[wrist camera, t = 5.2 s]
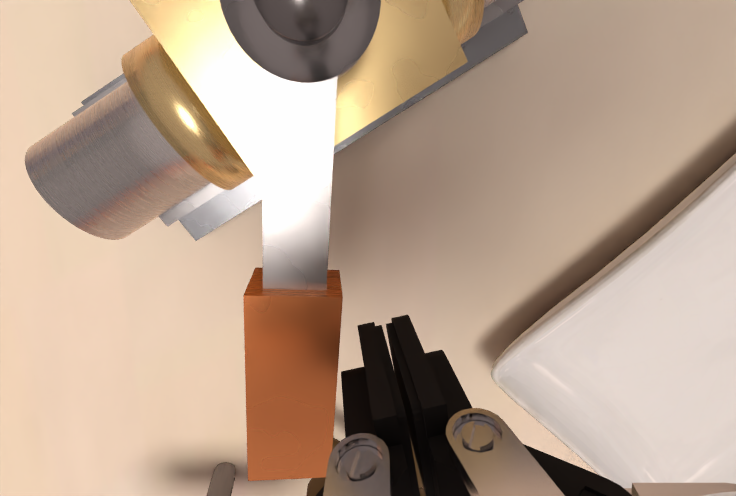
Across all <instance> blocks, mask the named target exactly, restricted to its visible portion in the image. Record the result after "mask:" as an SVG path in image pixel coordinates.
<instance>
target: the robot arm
mask: <svg viewBox="0 0 736 496" xmlns="http://www.w3.org/2000/svg"><path fill="white" fill-rule="evenodd" d="M386 327H387V333H388V338H389V344H390V350H391V355H392V361H393V365H392V361H391V358H390V354H389V351H388V347H387V343H386V340H385V336H384V332H383V329H382V325H379V326H375V324H374V322H372V323H367V324H362V325H358V331H359V337H360V343H361V350H362V356H363V362H364V367H361V368H356V369H351V370H347V371H342V372H341V378H342V392H343V407H344V421H345V435H346V438H345V439H343V440H342V441H341V442H339V443H338V444H337V445H336V446H335V448H334V449H333V451H332V452H331V454H330V457H329V460H328V466H327V472H326V479H325V485H324V486H323V487H322V489H321V490H320V491H319V492H318V493H317V494H316V496H420V491H419V485H418V480H417V474H416V468H415V462H414V457H413V451H412V447H413V450H414V454H415V458H416V461H417V465H418V469H419V473H420V476H421V480H422V484H423V487H424V491H425V495H426V496H736V484H732V483H632V488H623V487H622V486H620V485H619V484H617V483H615V482H613V481H611V480H609V479H607V478H604V477H602V476H600V475H597V474H595V473H592V472H590V471H587V470H585V469H583V468H580V467H578V466H575V465H573V464H570V463H568V462H565V461H563V460H561V459H558V458H556V457H553V456H551V455H548V454H546V453H543V452H541V451H539V450H536V449H534V448H531V447H529V446H526V445H524V444H522V443H521V441H520V440H519V439H518V438H517V437H516V435H515V434H514V433H513V432H512V430H511V429H510V428H509V427H508V425H507V424H506V423H505V422H504V421H503V420H502V419H501V418H500V417H499V416H498V415H496V414H494V413H492V412H490V411H488V410H484V409H480V408H472V406H471V404H470V402H469V400H468V398H467V396H466V394H465V392H464V391H463V389H462V387H461V385H460V383H459V381H458V379H457V377H456V375H455V373H454V371H453V369H452V367H451V365H450V363H449V361H448V359H447V357H446V355H445V353H444V352H443V351H442V350H439V351H434V352H429V353H424V350H423V348H422V346H421V343H420V341H419V339H418V336H417V334H416V332H415V329H414V327H413V325H412V322H411V320H410V318H409V316H408V315H405V316H400V317H395V318H392V323H389V324H386ZM393 366H394V369H393ZM410 439H411V440H410ZM411 443H412V445H411Z"/></svg>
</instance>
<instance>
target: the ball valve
mask: <svg viewBox="0 0 736 496" xmlns="http://www.w3.org/2000/svg"><path fill="white" fill-rule="evenodd" d="M522 1H523V0H381V8H380V15H379V20H378V24H377V27H376V30H375V33H374V35H373V38H372V40H371V42H370V44H369V45H368V47H367V49H366V50H365V52H364V53H363V55H362V56H361V58H360V59H359V60H358V62H357V63H356V64H355V65H354V66H353V68H352V69H351V70H350V71H348V72H347V73H346V74H345V75H343V76H342V77H340V78H339V79H337V98H336V117H335V136H334V154H335V153H337V152H338V151H340V150H342V149H343V148H345V147H346V146H348V145H350V144H351V143H353V142H354V141H356V140H358V139H359V138H361V137H362V136H364V135H365V134H367V133H369V132H370V131H372V130H373V129H375V128H377V127H378V126H380V125H381V124H383V123H385V122H386V121H388V120H389V119H391V118H393V117H394V116H396V115H397V114H399V113H401V112H402V111H404V110H405V109H407V108H409V107H410V106H412V105H413V104H415V103H416V102H418V101H420V100H421V99H423V98H424V97H426V96H428V95H429V94H431V93H432V92H434V91H436V90H437V89H439V88H440V87H442V86H444V85H445V84H447V83H448V82H450V81H452V80H453V79H455V78H456V77H458V76H460V75H461V74H463V73H464V72H466V71H467V70H469V69H471V68H472V67H474V66H475V65H477V64H479V63H480V62H482V61H483V60H485V59H487V58H488V57H490V56H491V55H493V54H495V53H496V52H498V51H499V50H501V49H503V48H504V47H506V46H507V45H509V44H511V43H512V42H514V41H515V40H517V39H518V38H520V37H522V36H523V35H525V34H526V33H528V31H527V29H526V26H525V23H524V21H523V18H522V15H521V12H520V10H519V7H518V4H519V3H520V2H522ZM130 2H131V3H132V4H133V6H134V7H135V9H136V10H137V11H138V13H139V14H140V16H141V17H142V18H143V20H144V21H145V23H146V24H147V26H148V27H149V28H150V30H151V31H152V33H153V34H154V35H152V36H151V37H149V38H148V39H146V40H145V41H144V42H142V43H141V44H139V45H138V46H136V47H135V48H133V49H132V50H130V51H129V52H127V53H126V54H124V55H123V57H122V68H123V72H124V73H123V74H122V75H120V76H119V77H117V78H116V79H115V80H113V81H112V82H110V83H109V84H107V85H106V86H104V87H103V88H101V89H100V90H98V91H97V92H95V93H94V94H92V95H91V96H89V97H88V98H86V99H85V100H83V101H82V102H81V103H82V104H83V105H84V106H82V107H81V108H79V109H78V110H76V111H75V112H73V113H72V114H73V116H74V118H72V119H71V120H69V121H68V122H66V123H65V124H63V125H62V126H60V127H59V128H57V129H56V130H54V131H53V132H51V133H50V134H48V135H47V136H45V137H44V138H42V139H41V140H40V141H38V142H37V143H35V144H34V145H32V146H31V147H30V148H29V149H28V150H27V152H26V156H25V165H26V169H27V172H28V175H29V177H30V179H31V181H32V183H33V185H34V186H35V188H36V190H37V191H38V192H39V193H40V195H41V196H42V197H43V199H44V200H45V201H46V202H47V203H48V204H49V205H50V206H51V207H52V208H53V209H54V210H55V211H56V212H57V213H58V214H60V215H61V216H62V217H63V218H65V219H66V220H67V221H69V222H70V223H71V224H73V225H75V226H76V227H78V228H80V229H81V230H83V231H85V232H87V233H89V234H92V235H94V236H97V237H100V238H104V239H111V240H118V239H123V238H125V237H127V236H128V235H130V234H132V233H133V232H135V231H136V230H138V229H139V228H141V227H143V226H144V225H146V224H147V223H149V222H150V221H152V220H154V219H155V218H157V217H158V216H159V217H160V218H161V220H162V221H163V222H164V223H165V224H166V225H167V226H169V225H171V224H172V223H174V222H175V221H177V220H179V221H180V222H181V224H182V225H183V226H184V227H185V228H186V230H187V231H188V232H189V233H190V234H191V236H192V237H193V238H194V239H195V240H196V241H197V240H198V239H200V238H201V237H203V236H205V235H206V234H208V233H209V232H211V231H213V230H214V229H216V228H217V227H219V226H220V225H222V224H224V223H225V222H227V221H228V220H230V219H232V218H233V217H235V216H236V215H238V214H240V213H241V212H243V211H244V210H246V209H248V208H249V207H251V206H252V205H254V204H256V203H257V202H259V201H260V200H262V68H261V67H260V66H259V65H258V64H256V63H255V62H254V61H253V60H252V59H251V58H250V57H249V56H248V55H247V54H246V53H245V52H244V51H243V50H242V48H241V47H240V46H239V44H238V43H237V42H236V40H235V38H234V37H233V35H232V33H231V32H230V30H229V27H228V25H227V23H226V21H225V18H224V15H223V12H222V9H221V4H220V0H130ZM334 154H333V155H334Z"/></svg>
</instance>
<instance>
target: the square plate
mask: <svg viewBox="0 0 736 496" xmlns="http://www.w3.org/2000/svg"><path fill="white" fill-rule="evenodd" d="M492 368H493V369H492V372H491V377H492V379H493V381H494V382H495V383H496V384H497V385H498V386H499V387H500V388H501V389H502V390H503V391H504V392H505V393H506V394H507V395H508V396H509V397H510V398H511V399H512V400H514V401H515V402H516V403H517V404H518V405H519V406H521V407H522V408H523V409H524V410H525V411H527V412H528V413H529V414H530V415H531V416H532V417H534V418H535V419H536V420H537V421H538V422H539V423H541V424H542V425H543V426H544V427H545V428H546V429H548V430H549V431H550V432H551V433H552V434H553V435H555V436H556V437H557V438H558V439H559V440H560V441H562V442H563V443H564V444H565V445H566V446H567V447H568V448H570V449H571V450H572V451H573V452H574V453H576V454H577V455H578V456H579V457H580V458H581V459H582V460H583V461H584V462H585V463H587V464H588V465H589V466H590V467H591V468H592V469H593V470H594V471H595V472H596V473H597V474H598V475H600V476H602V477H604V478H607V479H609V480H611V481H613V482H615V483H617V484H619V485H620V486H622V487H623V488H632V483H732V484H736V153H735V154H734V155H733V156H732V157H731V158H730V159H728V160H727V161H726V162H725V163H724V164H723V165H722V166H721V167H720V168H719V169H718V170H716V171H715V172H714V173H713V174H712V175H711V176H710V177H709V178H707V179H706V180H705V181H704V182H703V183H702V184H701V185H700V186H698V187H697V188H696V189H695V190H694V191H693V192H692V193H690V194H689V195H688V196H687V197H686V198H685V199H684V200H683V201H681V202H680V203H679V204H678V205H677V206H676V207H675V208H674V209H672V210H671V211H670V212H669V213H668V214H667V215H666V216H665V217H663V218H662V219H661V220H660V221H659V222H658V223H657V224H656V225H654V226H653V227H652V228H651V229H650V230H649V231H648V232H646V233H645V234H644V235H643V236H642V237H640V238H639V239H638V240H637V241H635V242H634V243H633V244H632V245H631V246H629V247H628V248H627V249H626V250H625V251H623V252H622V253H621V254H620V255H618V256H617V257H616V258H615V259H614V260H612V261H611V262H610V263H609V264H608V265H606V266H605V267H604V268H603V269H602V270H600V271H599V272H598V273H597V274H595V275H594V276H593V277H592V278H590V279H589V280H588V281H587V282H585V283H584V284H583V285H581V286H580V287H579V288H577V289H576V290H575V291H574V292H572V293H571V294H570V295H568V296H567V297H566V298H565V299H563V300H562V301H561V302H559V303H558V304H557V305H556V306H554V307H553V308H552V309H551V310H549V311H548V312H547V313H546V314H545V315H543V316H542V317H541V318H540V319H539V320H538V321H536V322H535V323H534V324H533V325H532V326H530V327H529V328H528V329H527V330H526V331H525V332H523V333H522V334H521V335H520V336H519V337H518V338H517V339H516V340H515V341H513V342H512V343H511V344H510V345H509V346H508V347H507V348H506V349H505V351H504V352H503V353H502V354H501V355H500V356H499V357H498V358H497V359H496V360H495V362H494V364H493V367H492Z"/></svg>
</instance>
